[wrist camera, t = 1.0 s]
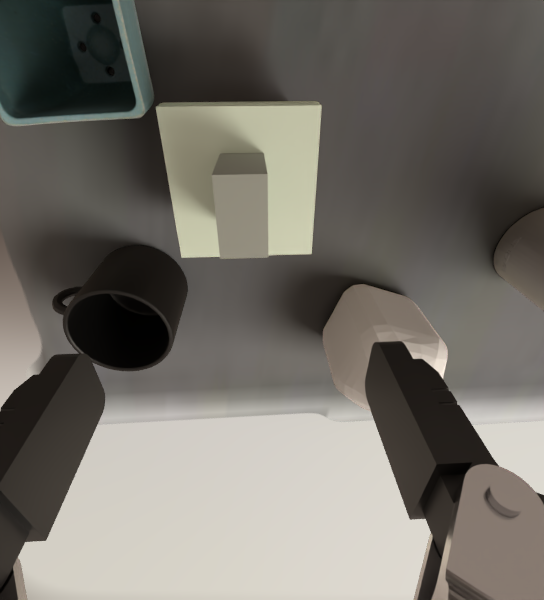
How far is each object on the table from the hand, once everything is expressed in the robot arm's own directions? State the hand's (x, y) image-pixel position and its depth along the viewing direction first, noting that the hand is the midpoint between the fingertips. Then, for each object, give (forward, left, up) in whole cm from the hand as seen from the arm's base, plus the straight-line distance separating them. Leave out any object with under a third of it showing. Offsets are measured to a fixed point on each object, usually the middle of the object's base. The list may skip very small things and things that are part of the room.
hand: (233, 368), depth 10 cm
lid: (0, 0, -20) cm, 20 cm away
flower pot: (+10, -9, -26) cm, 29 cm away
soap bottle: (-14, +18, -26) cm, 34 cm away
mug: (+13, +12, -26) cm, 31 cm away
